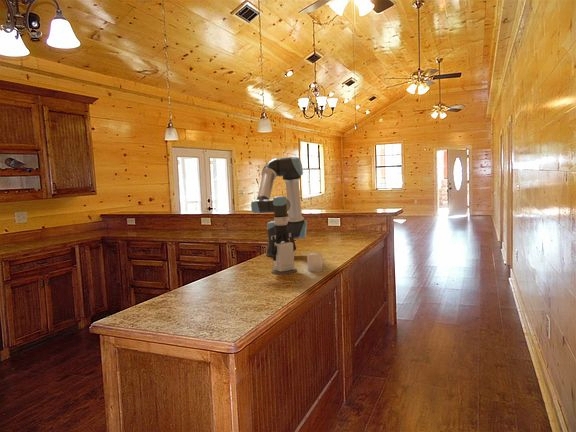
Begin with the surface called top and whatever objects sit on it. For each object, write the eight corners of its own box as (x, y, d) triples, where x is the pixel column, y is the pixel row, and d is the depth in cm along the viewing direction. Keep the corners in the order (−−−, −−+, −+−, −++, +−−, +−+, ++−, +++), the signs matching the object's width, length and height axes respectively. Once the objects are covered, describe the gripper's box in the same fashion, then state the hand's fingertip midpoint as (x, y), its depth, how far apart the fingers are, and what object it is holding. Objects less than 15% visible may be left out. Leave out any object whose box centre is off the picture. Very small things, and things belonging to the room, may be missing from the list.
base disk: (271, 269, 242) (271, 268, 242) (295, 267, 243) (295, 266, 243) (271, 275, 228) (271, 273, 228) (297, 273, 229) (297, 271, 229)
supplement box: (295, 269, 234) (293, 242, 232) (281, 272, 230) (279, 244, 228) (287, 266, 242) (285, 240, 240) (273, 269, 237) (271, 242, 236)
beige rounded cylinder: (307, 269, 237) (306, 253, 237) (321, 268, 238) (320, 252, 237) (308, 272, 229) (307, 256, 229) (323, 271, 230) (322, 255, 229)
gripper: (267, 227, 224) (270, 269, 226) (301, 222, 236) (303, 262, 238) (260, 226, 230) (263, 267, 233) (293, 221, 243) (295, 260, 245)
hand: (283, 264), depth 235 cm, fingers closed on supplement box, 9 cm apart
